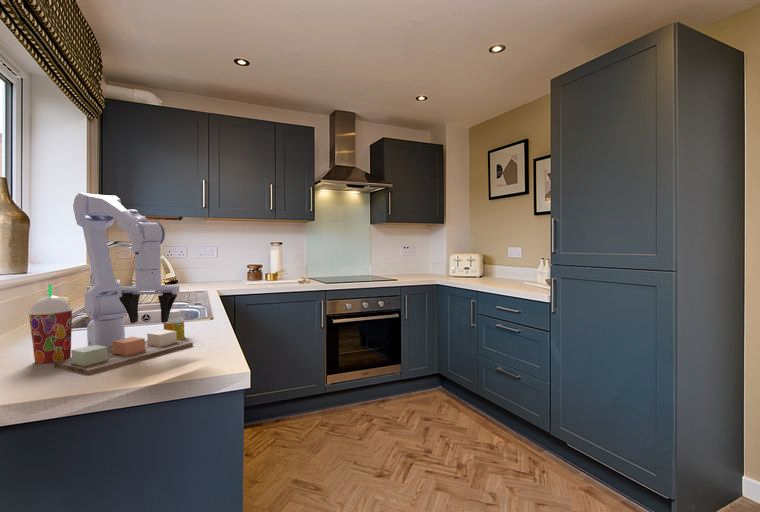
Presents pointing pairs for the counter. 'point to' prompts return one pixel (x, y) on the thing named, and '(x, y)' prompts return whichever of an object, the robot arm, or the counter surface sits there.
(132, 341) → the key terracotta
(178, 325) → the supplement bottle
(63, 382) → the counter surface
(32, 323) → the smoothie
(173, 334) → the key cream
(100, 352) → the key sage
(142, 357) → the brown rectangular tray
